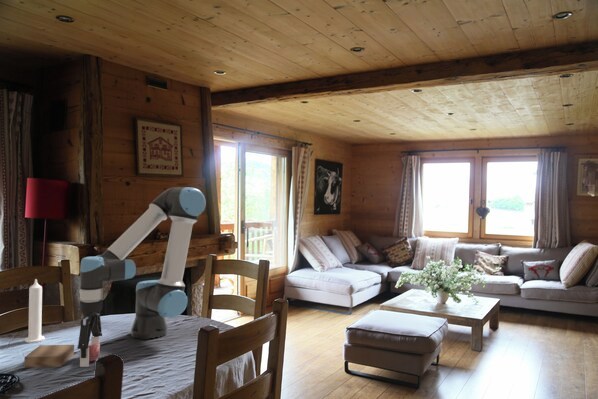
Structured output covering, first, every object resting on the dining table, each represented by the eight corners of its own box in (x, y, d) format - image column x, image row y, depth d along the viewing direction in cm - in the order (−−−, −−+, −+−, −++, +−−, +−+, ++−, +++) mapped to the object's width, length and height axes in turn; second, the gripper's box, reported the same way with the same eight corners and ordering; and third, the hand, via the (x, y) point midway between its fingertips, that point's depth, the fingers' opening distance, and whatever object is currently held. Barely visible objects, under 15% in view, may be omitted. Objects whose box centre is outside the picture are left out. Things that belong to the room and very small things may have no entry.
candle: (48, 338, 184) (49, 278, 184) (33, 343, 177) (34, 281, 177) (36, 336, 186) (37, 276, 186) (20, 341, 180) (21, 279, 179)
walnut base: (73, 355, 168) (74, 344, 168) (61, 367, 156) (61, 356, 156) (39, 355, 166) (40, 345, 166) (24, 368, 154) (24, 357, 154)
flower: (104, 346, 160) (96, 335, 163) (82, 359, 156) (74, 348, 158) (106, 356, 166) (98, 346, 168) (85, 370, 161) (77, 359, 163)
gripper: (91, 292, 173) (89, 348, 173) (67, 308, 149) (66, 373, 150) (111, 292, 174) (110, 348, 174) (91, 308, 150) (90, 372, 151)
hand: (89, 360), depth 162 cm, fingers open, 11 cm apart
